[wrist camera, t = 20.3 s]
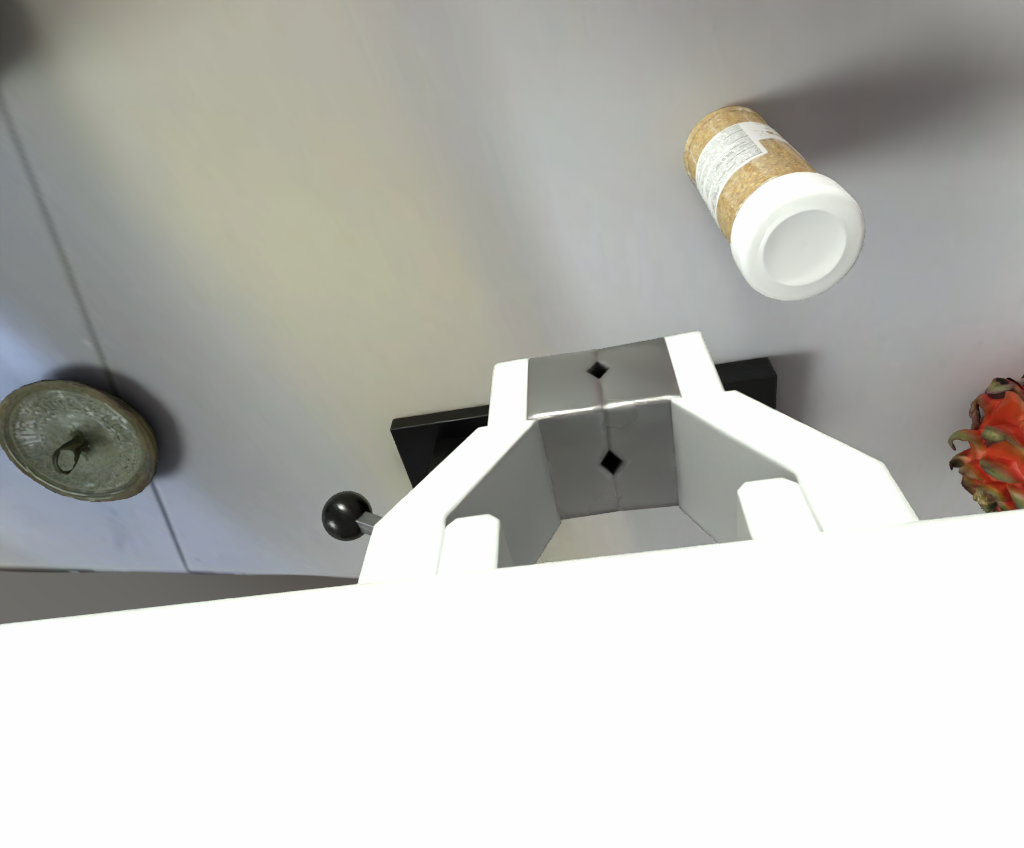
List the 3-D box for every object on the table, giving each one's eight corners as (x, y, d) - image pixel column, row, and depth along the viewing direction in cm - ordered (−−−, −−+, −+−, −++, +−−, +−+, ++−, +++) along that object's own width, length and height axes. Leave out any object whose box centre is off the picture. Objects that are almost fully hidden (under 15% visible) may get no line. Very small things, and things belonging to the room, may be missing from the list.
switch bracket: (424, 500, 52) (398, 630, 42) (392, 419, 47) (356, 544, 38) (551, 484, 50) (554, 614, 41) (532, 398, 46) (530, 523, 36)
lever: (354, 510, 49) (322, 543, 47) (338, 476, 47) (303, 508, 45) (501, 562, 42) (471, 603, 40) (489, 525, 40) (457, 566, 38)
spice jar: (785, 151, 36) (891, 252, 25) (712, 209, 38) (781, 326, 27) (738, 82, 34) (830, 159, 23) (663, 147, 36) (716, 246, 25)
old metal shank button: (18, 427, 51) (-23, 482, 48) (9, 350, 43) (-40, 409, 40) (162, 477, 54) (133, 531, 51) (176, 413, 47) (143, 472, 44)
